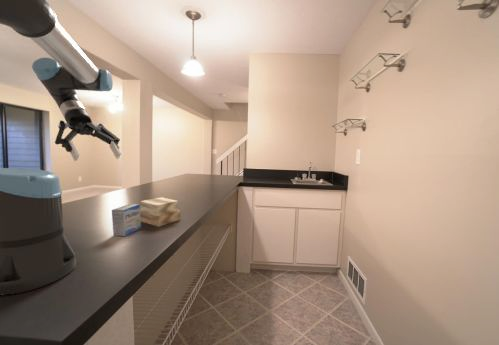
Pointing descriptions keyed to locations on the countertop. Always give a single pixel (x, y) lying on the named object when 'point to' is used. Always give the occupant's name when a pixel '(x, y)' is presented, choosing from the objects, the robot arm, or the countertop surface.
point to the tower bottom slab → (160, 218)
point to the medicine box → (126, 219)
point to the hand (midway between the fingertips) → (99, 157)
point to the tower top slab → (159, 206)
